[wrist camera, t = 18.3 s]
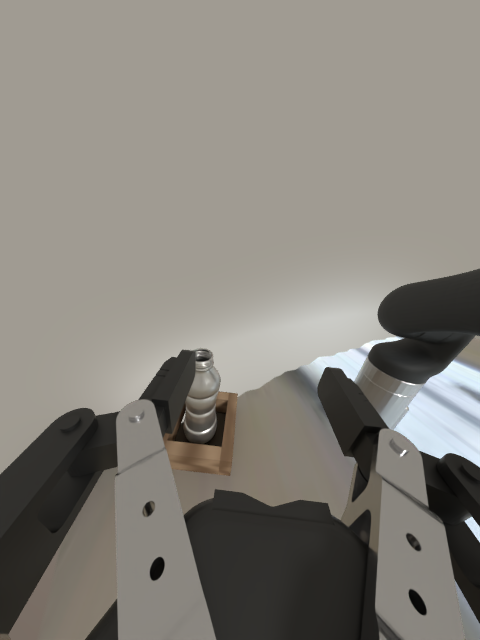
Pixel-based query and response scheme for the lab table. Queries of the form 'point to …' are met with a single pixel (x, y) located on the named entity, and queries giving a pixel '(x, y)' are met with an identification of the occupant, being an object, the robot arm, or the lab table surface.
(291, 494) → the lab table surface
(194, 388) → the plastic bottle
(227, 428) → the wooden square frame
